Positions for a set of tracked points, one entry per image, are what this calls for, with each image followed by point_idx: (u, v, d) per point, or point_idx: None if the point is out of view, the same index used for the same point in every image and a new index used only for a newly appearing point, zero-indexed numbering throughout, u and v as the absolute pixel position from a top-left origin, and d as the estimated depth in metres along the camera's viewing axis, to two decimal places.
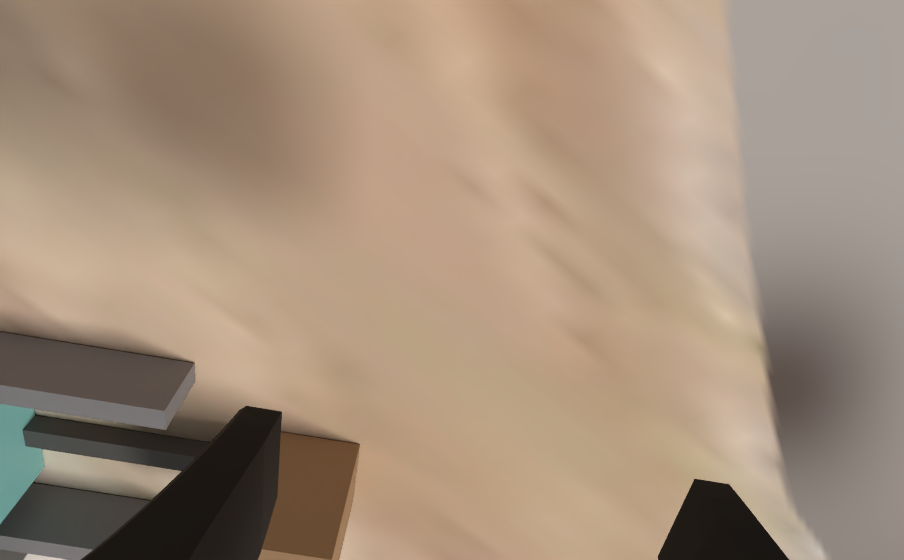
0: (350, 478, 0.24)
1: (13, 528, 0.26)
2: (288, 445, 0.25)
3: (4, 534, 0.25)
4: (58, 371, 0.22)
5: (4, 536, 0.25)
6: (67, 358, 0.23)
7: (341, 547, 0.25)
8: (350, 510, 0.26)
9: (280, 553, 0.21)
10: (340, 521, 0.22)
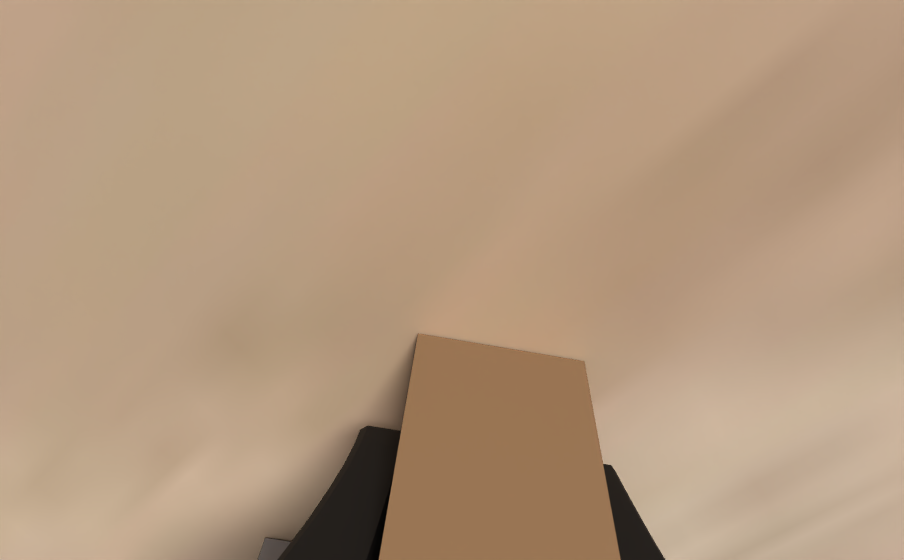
0: (408, 395, 0.11)
1: None
2: None
3: None
4: None
5: None
6: None
7: (584, 453, 0.10)
8: (583, 378, 0.12)
9: None
10: (395, 483, 0.09)
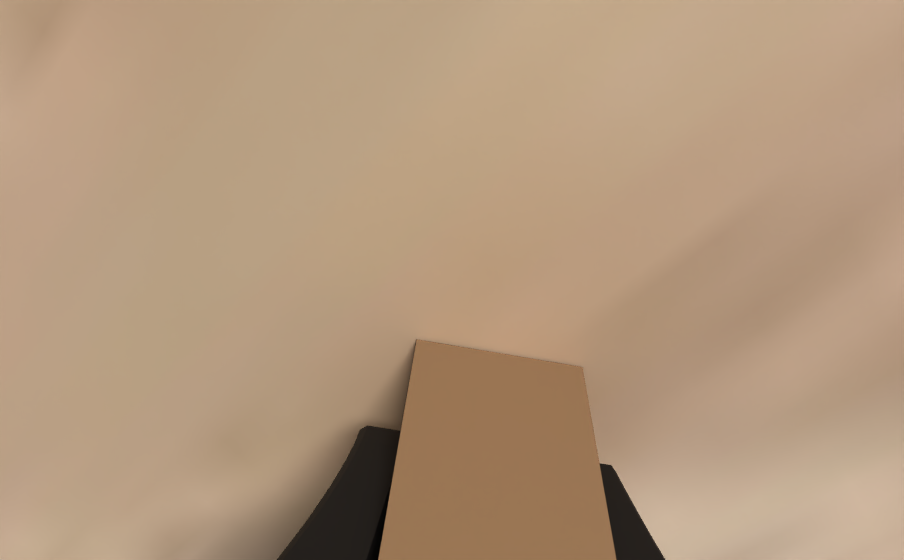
0: (406, 402, 0.11)
1: None
2: None
3: None
4: None
5: None
6: None
7: (582, 460, 0.10)
8: (581, 384, 0.12)
9: None
10: (393, 490, 0.09)
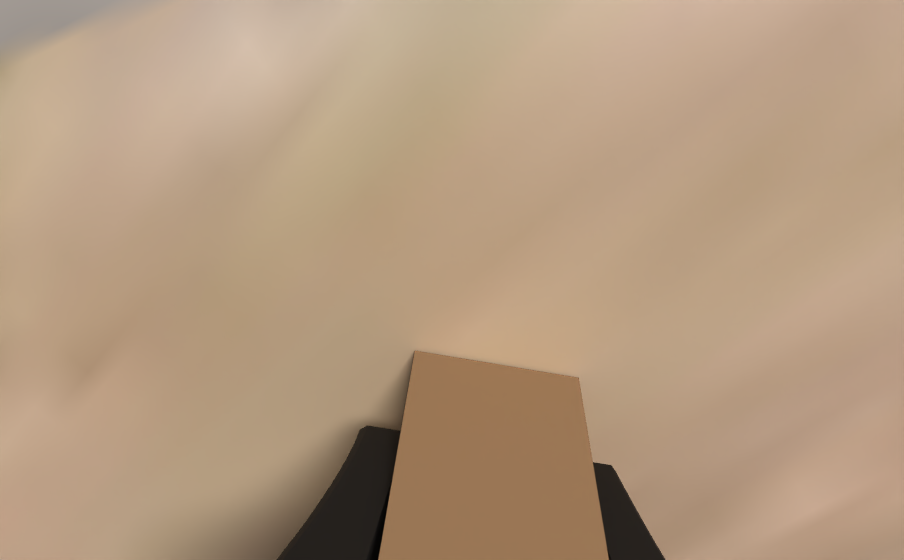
0: (404, 414, 0.11)
1: None
2: None
3: None
4: None
5: None
6: None
7: (578, 471, 0.10)
8: (578, 395, 0.12)
9: None
10: (391, 503, 0.09)
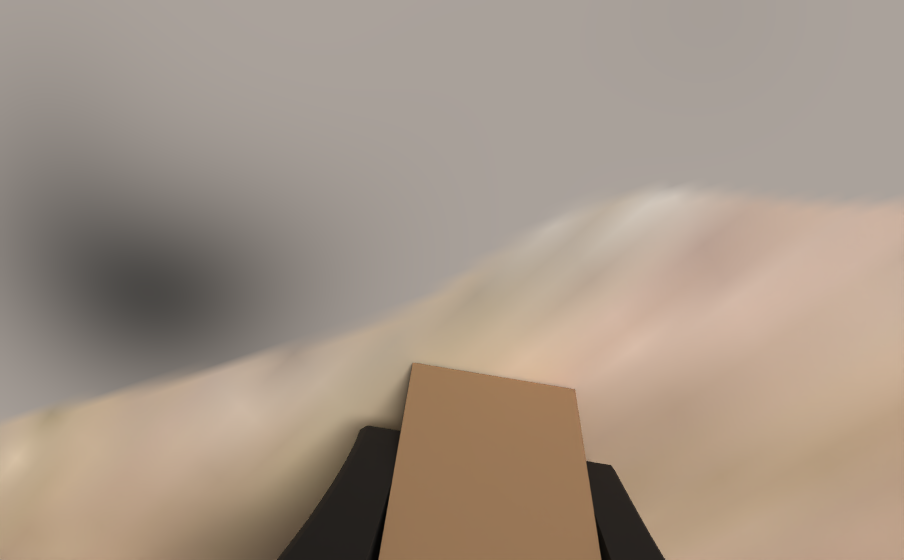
0: (402, 426, 0.11)
1: None
2: None
3: None
4: None
5: None
6: None
7: (573, 484, 0.11)
8: (574, 407, 0.12)
9: None
10: (389, 517, 0.10)
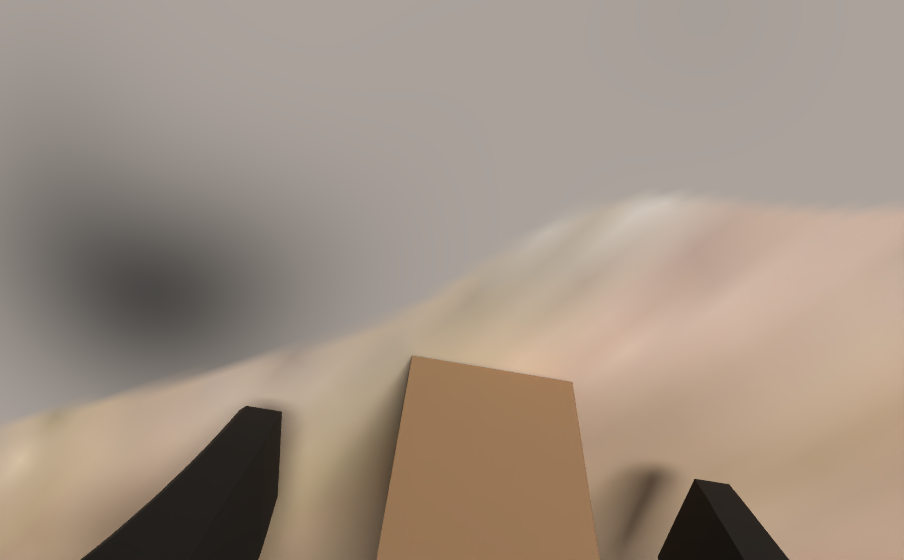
0: (402, 418, 0.11)
1: None
2: None
3: None
4: None
5: None
6: None
7: (570, 474, 0.11)
8: (571, 399, 0.12)
9: None
10: (389, 506, 0.10)
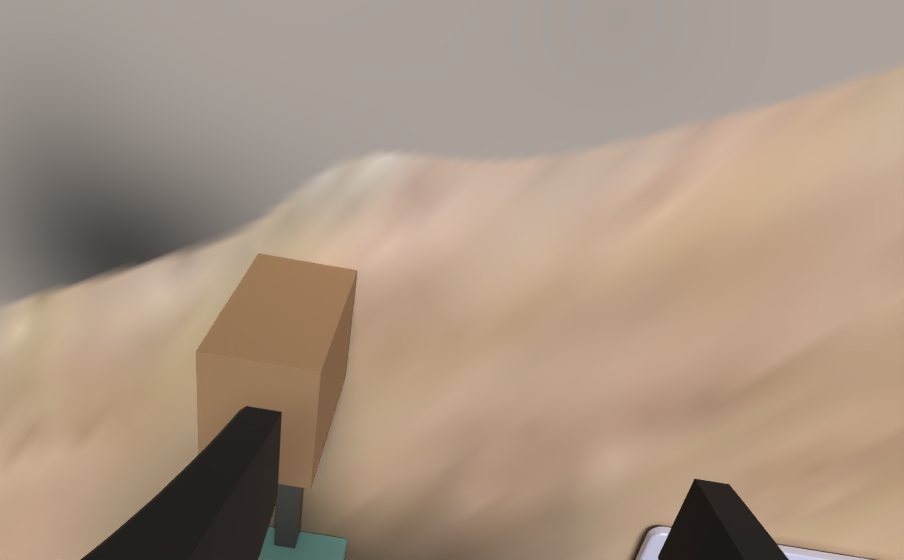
0: (241, 282, 0.19)
1: None
2: None
3: None
4: None
5: None
6: None
7: (332, 311, 0.19)
8: (351, 278, 0.20)
9: (199, 402, 0.17)
10: (219, 318, 0.18)
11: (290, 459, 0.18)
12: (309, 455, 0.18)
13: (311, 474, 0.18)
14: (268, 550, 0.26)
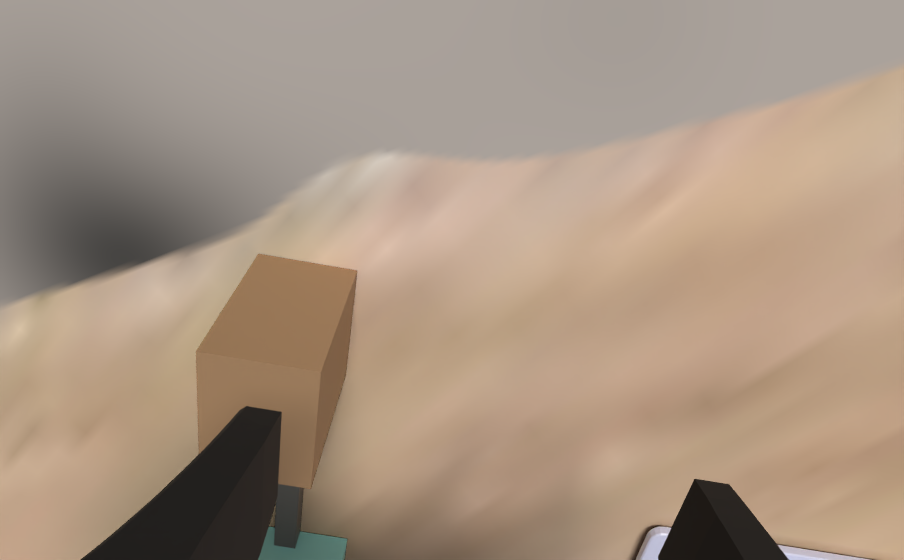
0: (241, 282, 0.19)
1: None
2: None
3: None
4: None
5: None
6: None
7: (332, 311, 0.19)
8: (351, 278, 0.20)
9: (199, 402, 0.17)
10: (219, 318, 0.18)
11: (290, 459, 0.18)
12: (309, 455, 0.18)
13: (311, 474, 0.18)
14: (268, 550, 0.26)
